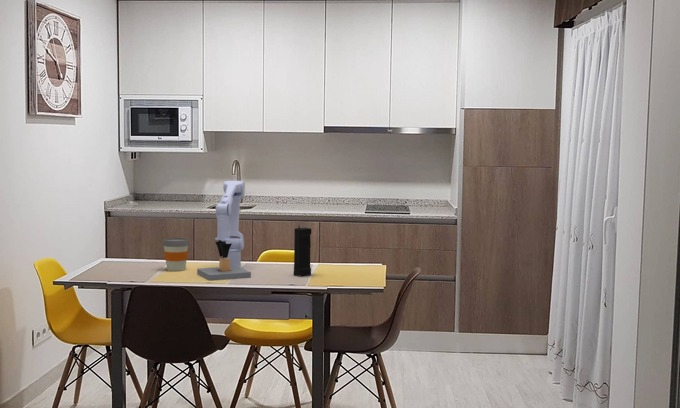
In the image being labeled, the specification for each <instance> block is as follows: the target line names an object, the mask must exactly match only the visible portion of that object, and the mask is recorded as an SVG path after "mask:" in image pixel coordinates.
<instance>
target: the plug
mask: <svg viewBox="0 0 680 408" xmlns="http://www.w3.org/2000/svg"><path fill="white" fill-rule="evenodd" d="M218 260H219V267H220V272H224V271H230V259H228V258H223V257H222V258H221V257H220V258H219V259H218Z"/></svg>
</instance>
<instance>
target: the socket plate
mask: <svg viewBox="0 0 680 408" xmlns="http://www.w3.org/2000/svg"><path fill="white" fill-rule="evenodd" d="M196 269H197V270H196V272H197V275H199V276H201V278H202V277H203V278H204V279H206V280H208V281H210V282H211V281H222V280H233V279H248V278H250V279H251V277H252V272H251V271H249V270H247V269H245V268H244V267H243V268H240V267H238V266H230V271H224V272H220V266H216V267H202V268H201V267H200V268H196Z"/></svg>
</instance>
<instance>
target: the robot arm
mask: <svg viewBox="0 0 680 408" xmlns="http://www.w3.org/2000/svg"><path fill="white" fill-rule="evenodd" d="M245 186H246V184H245V181H244V180H224V181H223V192H224V194H223V195H222V196H221V198H220V200H219V202H218V204H216V205H215V215H216V220H217V224H216V225H217V227H216V228H217V229H216V230H217V236H216V237H215V238H214V240H215V244H216V247H217V250H218V253H219V257H220V258H221V257H222V258H228V259H230V266H238V267H240V268H243V269H244V267H243V266H242V264H241V263H242V262H241V261H242V259H241V258H242V257H241V255H242V254H241V251H242V250H244V246H245V239H244V237H245V236H244V234H243V233H242V232H240V231H239V226H240V225H239V224H240V212H241V211H240V210H241V209H240V205H241V200H242V199H243V198H244V197H245V189H246V187H245Z"/></svg>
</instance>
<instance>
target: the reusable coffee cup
mask: <svg viewBox="0 0 680 408" xmlns="http://www.w3.org/2000/svg"><path fill="white" fill-rule="evenodd" d="M162 244H163V245H162V246H163V249H164V250H163V255H164V261H165V264H166V271H169V272H183V271H185V270H186V269H187V261H188V257H189V245H190V243H189V238H185V237H171V238H165V239H163V243H162Z"/></svg>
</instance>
